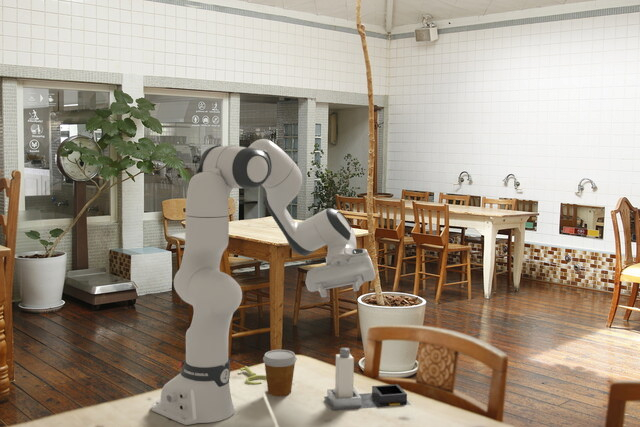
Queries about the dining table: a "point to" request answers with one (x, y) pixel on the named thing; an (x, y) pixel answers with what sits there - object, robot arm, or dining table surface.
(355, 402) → the panel
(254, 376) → the key
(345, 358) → the plug
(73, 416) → the dining table surface
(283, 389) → the disposable coffee cup
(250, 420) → the dining table surface
